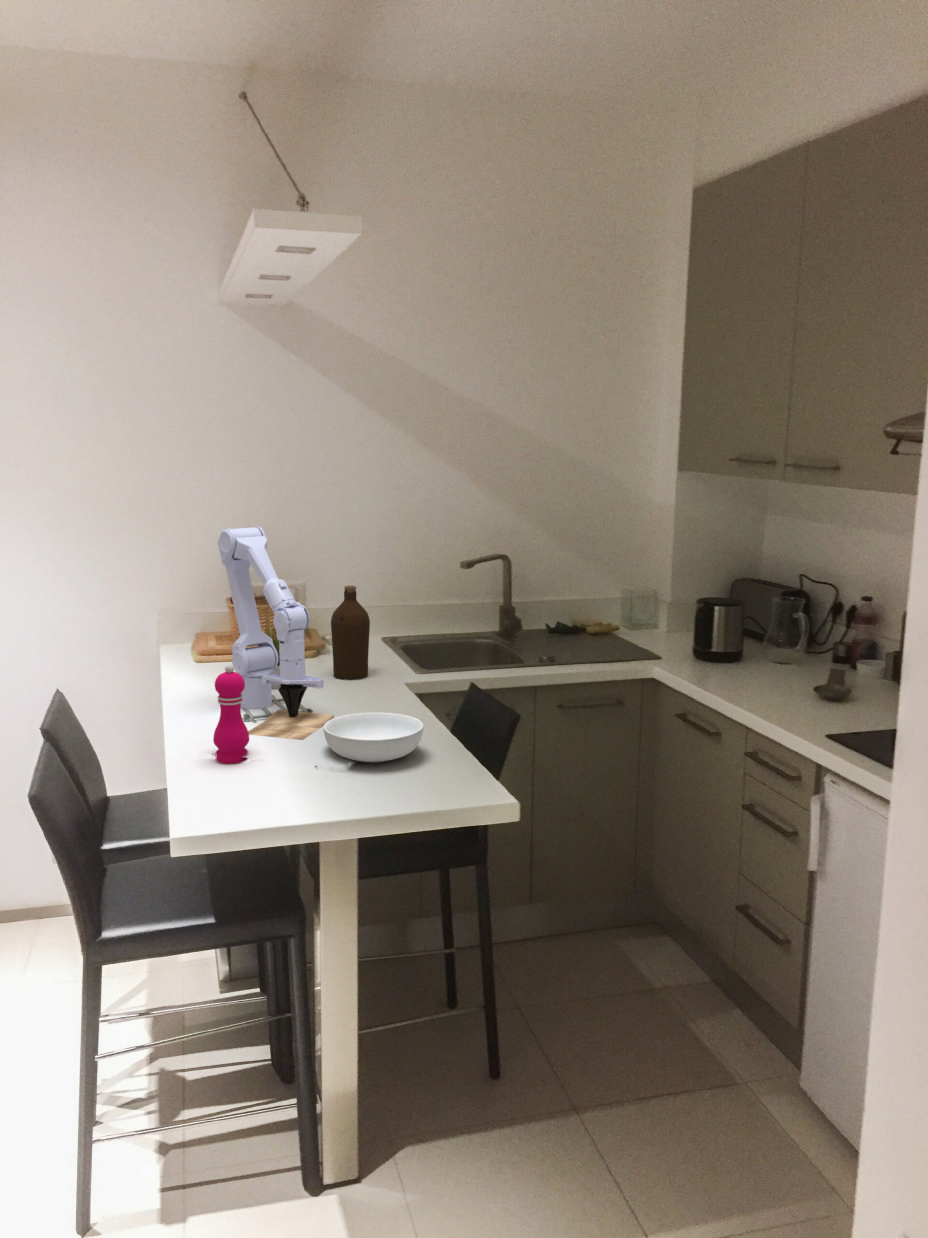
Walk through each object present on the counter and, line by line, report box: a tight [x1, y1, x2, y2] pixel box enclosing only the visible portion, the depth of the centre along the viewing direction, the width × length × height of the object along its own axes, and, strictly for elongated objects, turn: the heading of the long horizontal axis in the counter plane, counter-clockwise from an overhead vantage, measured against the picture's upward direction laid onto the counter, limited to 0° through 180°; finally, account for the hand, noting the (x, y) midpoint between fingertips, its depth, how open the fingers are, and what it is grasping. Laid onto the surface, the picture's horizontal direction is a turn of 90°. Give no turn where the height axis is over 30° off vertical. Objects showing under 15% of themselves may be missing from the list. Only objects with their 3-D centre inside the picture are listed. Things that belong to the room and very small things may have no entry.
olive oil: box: [330, 585, 371, 681], centre depth 278 cm, size 11×11×25 cm
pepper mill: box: [212, 664, 250, 765], centre depth 207 cm, size 7×7×20 cm
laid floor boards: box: [248, 722, 320, 741], centre depth 225 cm, size 14×9×1 cm, turn 75°
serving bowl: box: [323, 711, 425, 764], centre depth 212 cm, size 21×21×7 cm
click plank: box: [263, 709, 335, 729], centre depth 233 cm, size 14×8×1 cm, turn 75°
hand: (293, 716), depth 235 cm, fingers closed, pressing on click plank
